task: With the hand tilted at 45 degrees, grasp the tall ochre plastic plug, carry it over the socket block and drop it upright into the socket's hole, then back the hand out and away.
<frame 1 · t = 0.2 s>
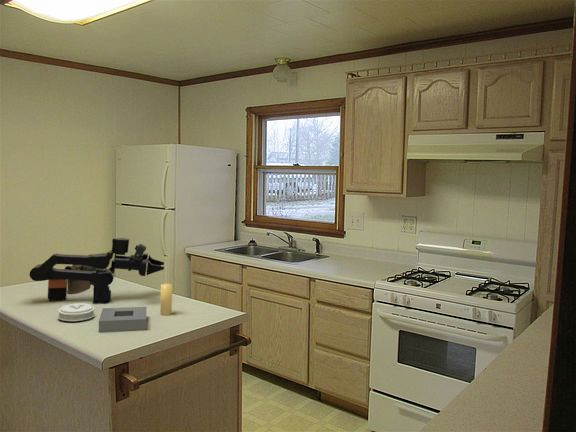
hand: (164, 265, 214), 15 cm above the counter, tool horizontal, fingers open, 9 cm apart
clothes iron: (75, 291, 224), on the counter
plug: (165, 314, 195), on the counter
battery: (56, 300, 208), on the counter, touching arm
squash: (86, 283, 240), on the counter
lid: (76, 318, 185), on the counter
socket block: (123, 324, 180), on the counter
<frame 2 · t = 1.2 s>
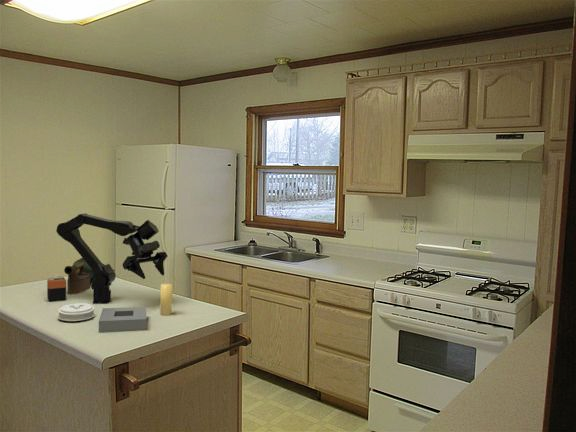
hand: (154, 276, 198), 14 cm above the counter, tool tilted 45°, fingers open, 9 cm apart
battery: (56, 300, 208), on the counter
everything else where it was.
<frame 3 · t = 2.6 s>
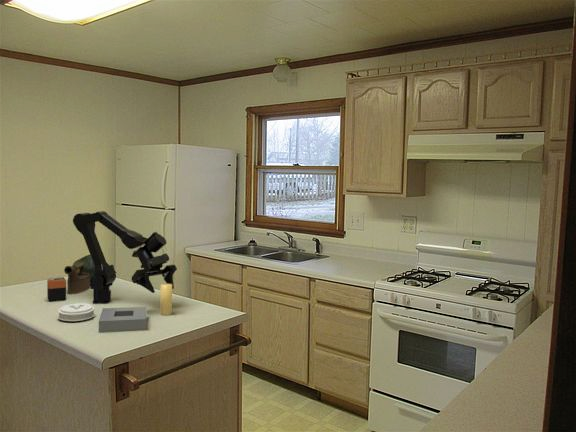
hand: (163, 290, 195), 9 cm above the counter, tool tilted 45°, fingers open, 9 cm apart
nothing on the counter moved.
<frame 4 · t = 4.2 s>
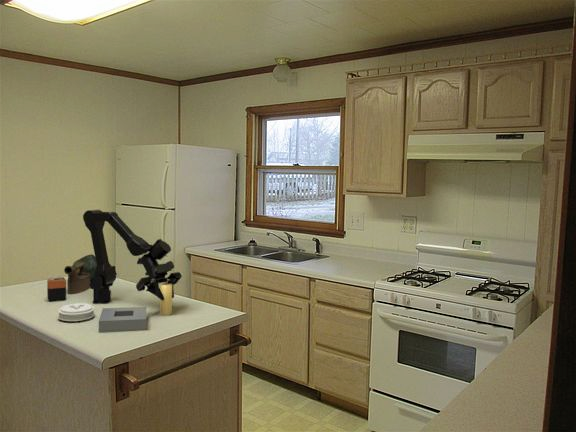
hand: (168, 298, 193), 7 cm above the counter, tool tilted 45°, fingers closed on plug, 4 cm apart
plug: (165, 314, 195), on the counter, touching gripper
everything else where it was.
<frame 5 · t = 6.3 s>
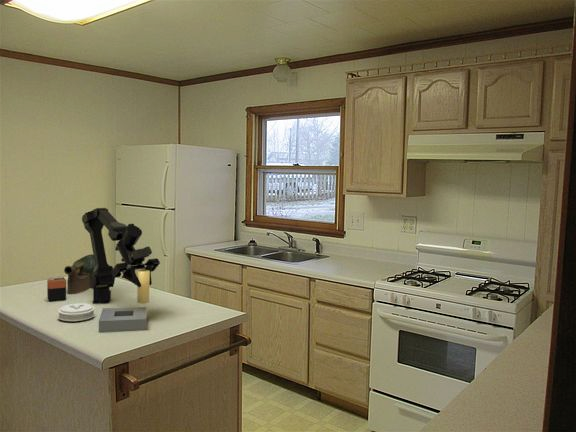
hand: (145, 285, 184), 14 cm above the counter, tool tilted 45°, fingers closed on plug, 4 cm apart
plug: (143, 301, 186), point 7 cm above the counter, touching gripper
everything else where it was.
when the fingers open (9 cm above the counter, at t = 8.4 s): plug stays where it is, resting on socket block.
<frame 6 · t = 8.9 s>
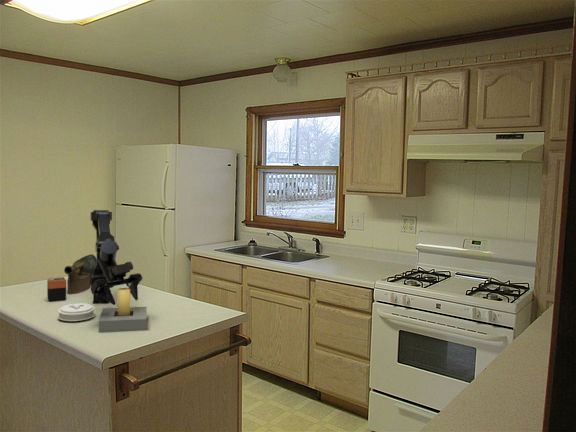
hand: (126, 302, 179), 9 cm above the counter, tool tilted 45°, fingers open, 9 cm apart
plug: (123, 321, 180), point 1 cm above the counter, touching socket block
everything else where it was.
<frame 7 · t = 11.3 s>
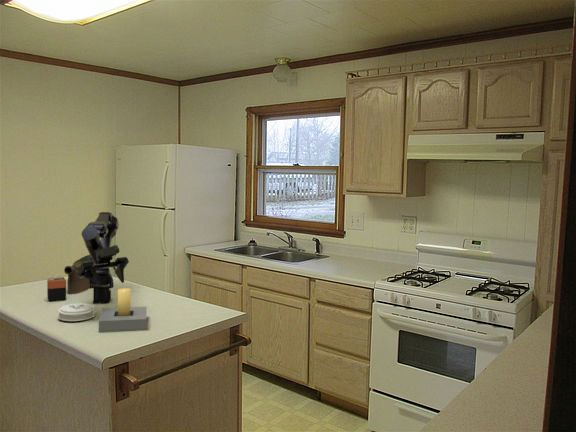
hand: (112, 284, 185), 14 cm above the counter, tool tilted 45°, fingers open, 9 cm apart
nothing on the counter moved.
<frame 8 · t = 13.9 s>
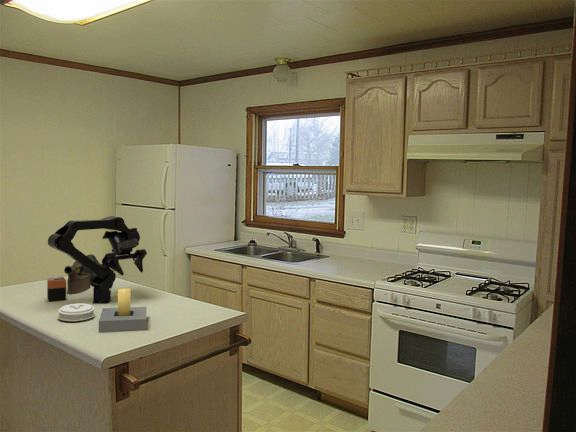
hand: (132, 273, 204), 14 cm above the counter, tool tilted 45°, fingers open, 9 cm apart
nothing on the counter moved.
at the end: plug 0.0 cm off-centre on the socket block, point 1.0 cm above the socket block's base; plug tilted 0°; the gripper is holding nothing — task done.
